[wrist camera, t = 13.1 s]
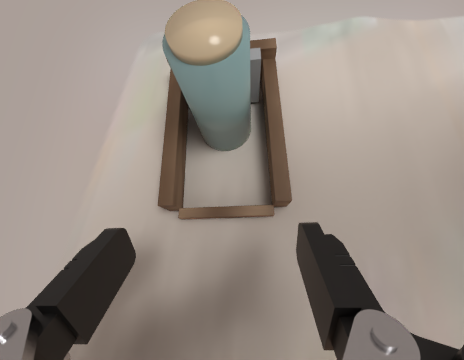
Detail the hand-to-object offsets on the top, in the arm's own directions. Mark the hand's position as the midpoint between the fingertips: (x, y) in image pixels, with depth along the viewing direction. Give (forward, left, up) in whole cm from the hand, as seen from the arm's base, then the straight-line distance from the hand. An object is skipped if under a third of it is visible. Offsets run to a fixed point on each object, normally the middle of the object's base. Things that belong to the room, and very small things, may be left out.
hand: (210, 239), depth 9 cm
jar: (0, -11, -8) cm, 14 cm away
